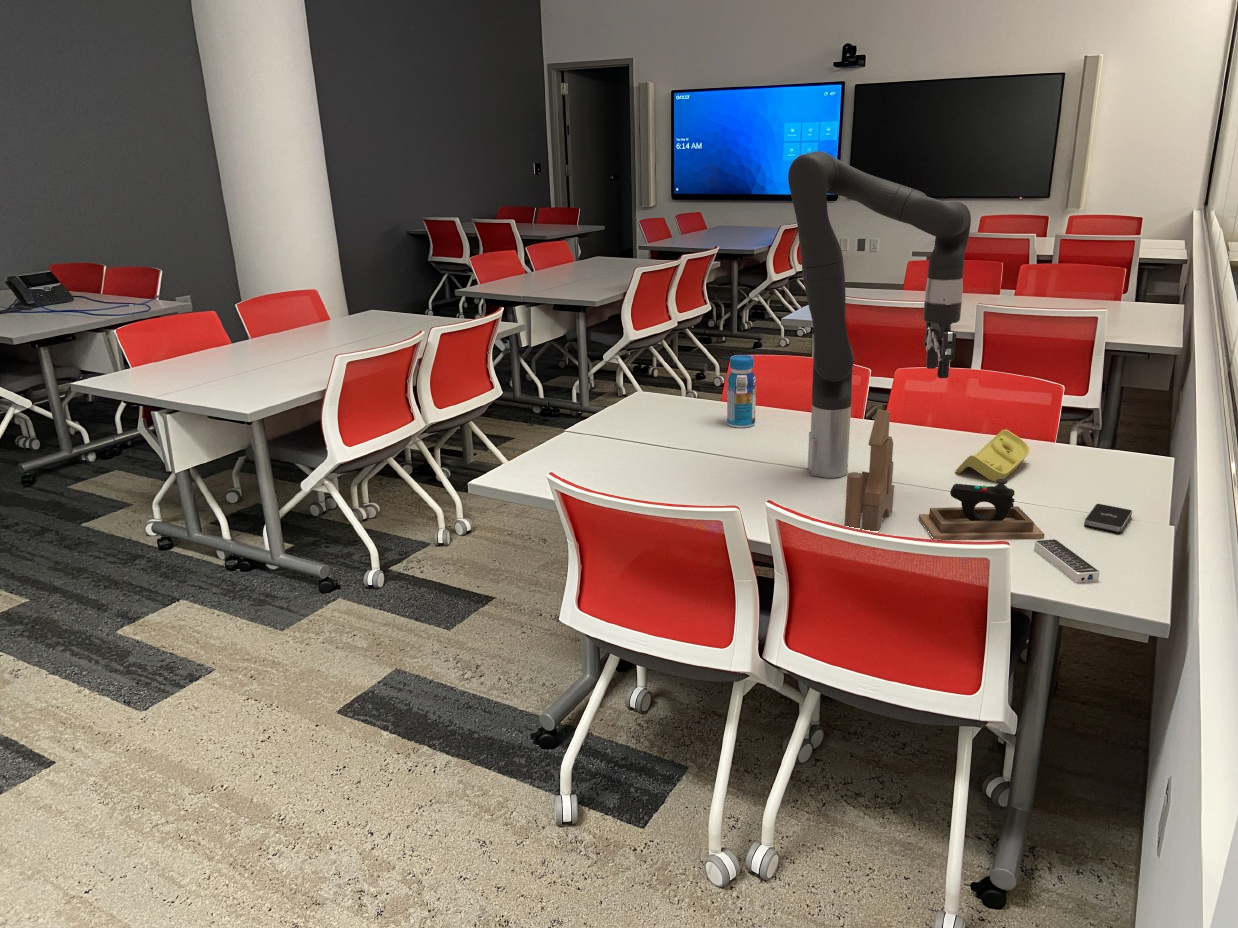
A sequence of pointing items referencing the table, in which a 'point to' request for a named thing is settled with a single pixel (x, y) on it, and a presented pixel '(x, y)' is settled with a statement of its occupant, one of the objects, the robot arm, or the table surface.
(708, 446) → the table surface
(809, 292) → the robot arm
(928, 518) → the cradle
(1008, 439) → the plastic component
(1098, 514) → the external hard drive
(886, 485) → the wooden toy
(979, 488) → the controller
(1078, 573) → the multiport hub
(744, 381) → the beverage bottle
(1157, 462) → the table surface
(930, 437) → the table surface
